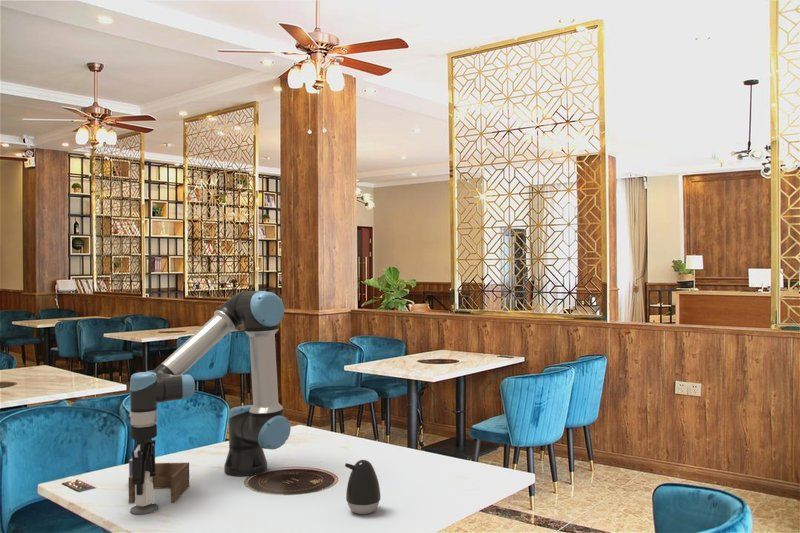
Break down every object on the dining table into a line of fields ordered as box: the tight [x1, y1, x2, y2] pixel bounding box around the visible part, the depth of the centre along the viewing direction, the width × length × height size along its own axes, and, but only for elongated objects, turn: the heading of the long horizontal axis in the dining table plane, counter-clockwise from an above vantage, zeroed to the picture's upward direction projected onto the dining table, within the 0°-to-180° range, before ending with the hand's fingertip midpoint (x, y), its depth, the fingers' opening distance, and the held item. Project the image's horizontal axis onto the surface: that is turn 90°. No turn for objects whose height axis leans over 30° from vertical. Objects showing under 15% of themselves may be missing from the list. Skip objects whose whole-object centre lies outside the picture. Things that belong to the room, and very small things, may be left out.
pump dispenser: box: [344, 459, 381, 515], centre depth 202 cm, size 10×10×15 cm
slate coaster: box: [129, 503, 159, 516], centre depth 205 cm, size 8×8×1 cm
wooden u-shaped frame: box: [128, 462, 190, 504], centre depth 219 cm, size 14×16×8 cm
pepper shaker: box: [134, 471, 154, 506], centre depth 205 cm, size 4×4×10 cm
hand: (144, 501), depth 205 cm, fingers closed on pepper shaker, 5 cm apart
